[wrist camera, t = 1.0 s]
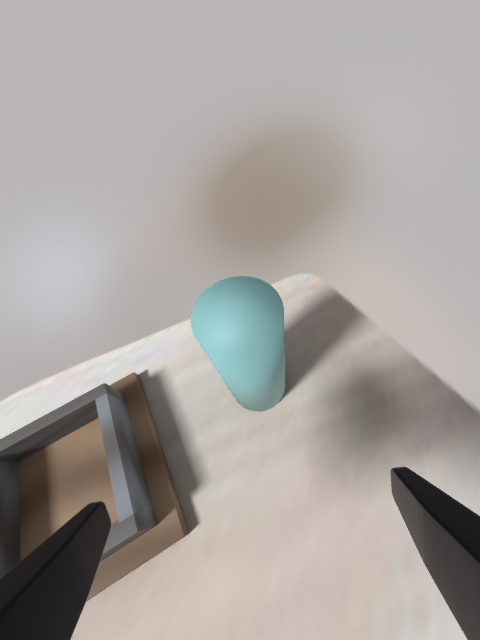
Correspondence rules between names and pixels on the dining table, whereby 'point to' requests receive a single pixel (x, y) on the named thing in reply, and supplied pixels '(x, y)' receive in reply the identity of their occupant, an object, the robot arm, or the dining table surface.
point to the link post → (244, 338)
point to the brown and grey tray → (90, 480)
